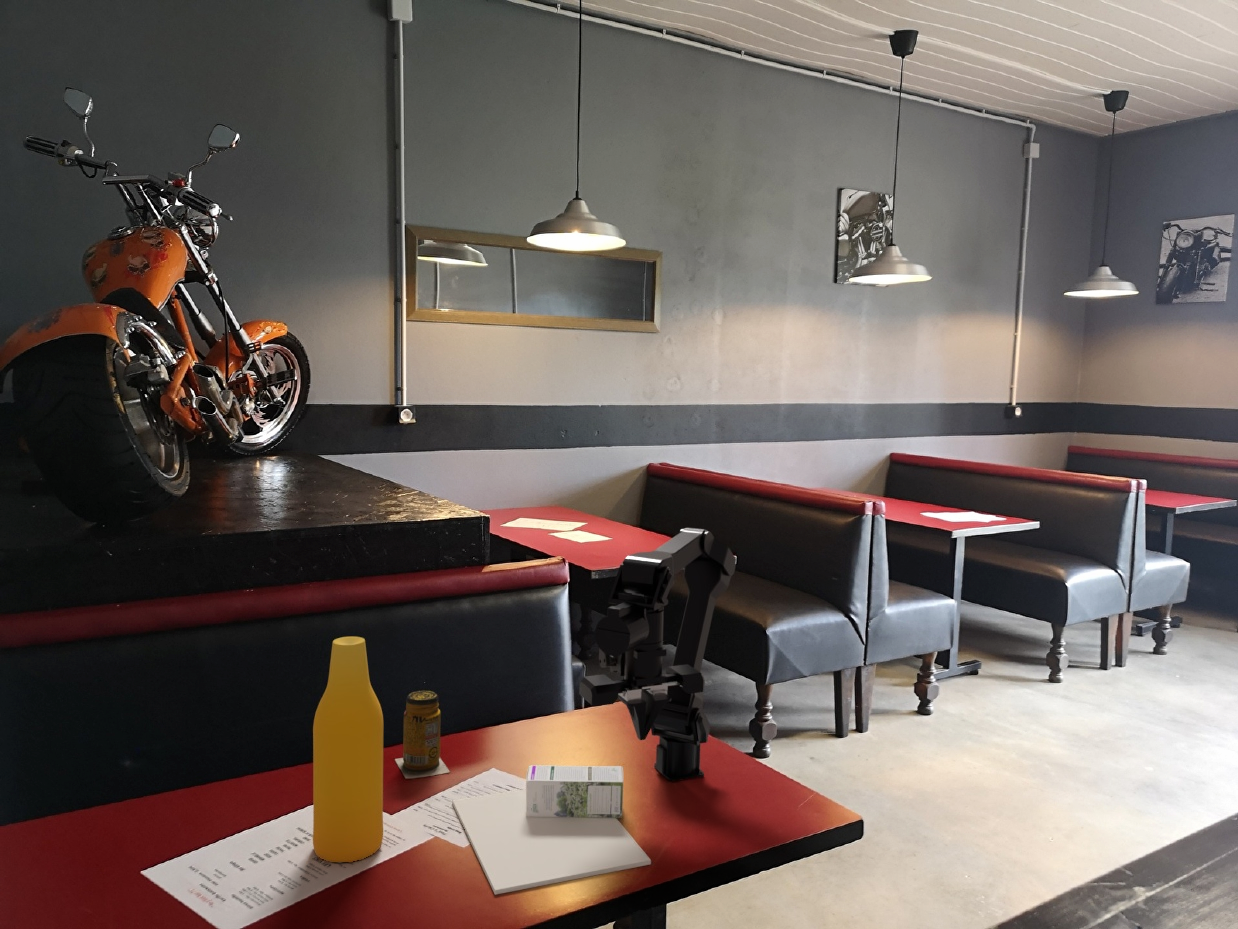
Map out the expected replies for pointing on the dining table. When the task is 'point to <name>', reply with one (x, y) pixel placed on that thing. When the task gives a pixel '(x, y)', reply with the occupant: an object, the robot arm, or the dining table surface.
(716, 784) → the dining table surface
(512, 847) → the mat
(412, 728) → the condiment
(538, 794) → the syrup box
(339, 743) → the beer bottle
